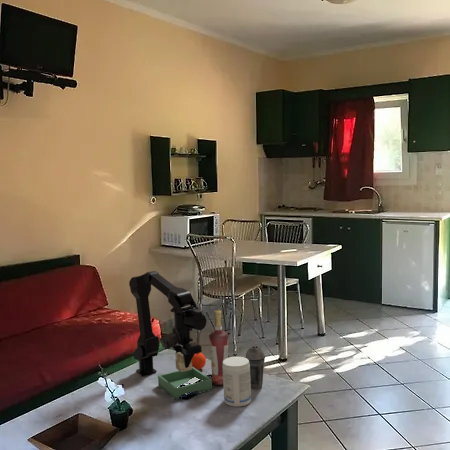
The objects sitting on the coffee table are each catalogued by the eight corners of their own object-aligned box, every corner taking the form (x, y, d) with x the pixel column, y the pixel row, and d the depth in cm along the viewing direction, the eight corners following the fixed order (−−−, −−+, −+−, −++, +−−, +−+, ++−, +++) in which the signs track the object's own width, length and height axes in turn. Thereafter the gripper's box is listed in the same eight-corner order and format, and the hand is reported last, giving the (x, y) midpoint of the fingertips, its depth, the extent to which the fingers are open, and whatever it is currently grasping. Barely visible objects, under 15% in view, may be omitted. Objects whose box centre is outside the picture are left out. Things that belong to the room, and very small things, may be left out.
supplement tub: (250, 395, 185) (249, 355, 184) (252, 407, 176) (251, 365, 174) (223, 396, 185) (221, 356, 183) (224, 408, 175) (222, 366, 174)
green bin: (158, 385, 196) (158, 375, 195) (193, 376, 203) (193, 366, 203) (175, 400, 183) (175, 389, 182) (212, 389, 191) (211, 379, 190)
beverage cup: (266, 383, 195) (264, 332, 193) (265, 391, 188) (264, 338, 185) (246, 383, 195) (245, 332, 193) (245, 391, 188) (244, 338, 186)
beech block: (175, 368, 193) (175, 352, 193) (186, 365, 195) (186, 350, 195) (181, 372, 189) (180, 356, 189) (192, 369, 192) (191, 353, 191)
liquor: (231, 386, 193) (228, 313, 190) (211, 387, 192) (209, 314, 189) (228, 378, 200) (226, 308, 198) (209, 380, 199) (207, 309, 197)
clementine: (191, 364, 216) (191, 348, 215) (208, 365, 215) (207, 348, 214) (187, 372, 208) (187, 355, 208) (204, 372, 207) (203, 355, 207)
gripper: (152, 322, 194) (153, 362, 196) (173, 335, 179) (175, 378, 180) (178, 317, 200) (180, 356, 202) (201, 329, 184) (203, 371, 186)
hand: (183, 365), depth 192 cm, fingers closed on beech block, 4 cm apart
